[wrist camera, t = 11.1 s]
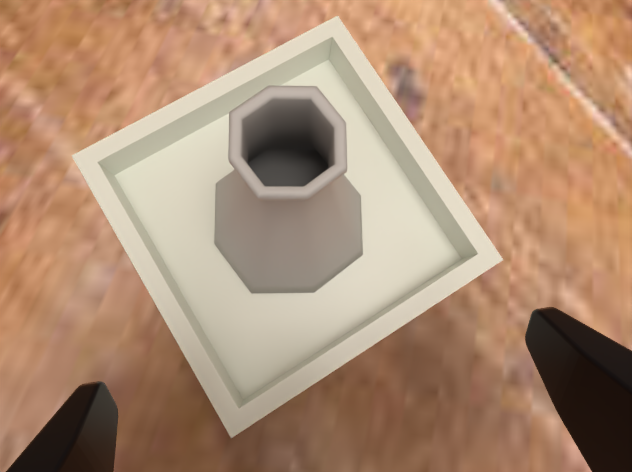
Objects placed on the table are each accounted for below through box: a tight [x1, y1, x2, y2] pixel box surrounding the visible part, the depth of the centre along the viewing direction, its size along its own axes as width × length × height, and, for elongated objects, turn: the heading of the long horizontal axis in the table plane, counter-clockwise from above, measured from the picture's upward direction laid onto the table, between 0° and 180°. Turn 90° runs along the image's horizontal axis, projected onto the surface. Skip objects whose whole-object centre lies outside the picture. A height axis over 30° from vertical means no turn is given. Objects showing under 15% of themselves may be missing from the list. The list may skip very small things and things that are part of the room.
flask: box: [214, 85, 363, 293], centre depth 16 cm, size 7×7×10 cm
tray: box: [72, 16, 503, 438], centre depth 21 cm, size 14×14×2 cm
